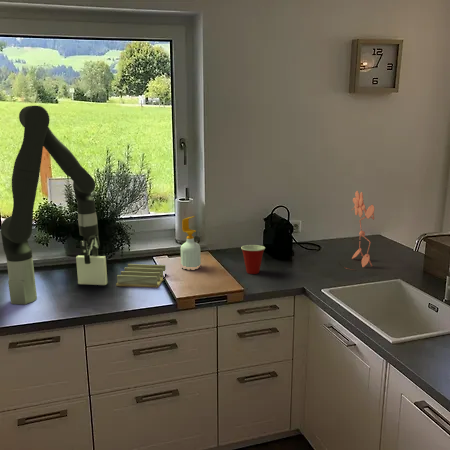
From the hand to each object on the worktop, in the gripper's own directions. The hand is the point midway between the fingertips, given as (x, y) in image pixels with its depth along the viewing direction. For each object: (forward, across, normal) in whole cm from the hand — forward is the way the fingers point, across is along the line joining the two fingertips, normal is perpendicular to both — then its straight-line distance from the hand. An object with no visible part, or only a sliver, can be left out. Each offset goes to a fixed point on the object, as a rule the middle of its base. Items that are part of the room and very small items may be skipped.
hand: (91, 260), depth 206 cm
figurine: (+12, -36, +114) cm, 120 cm away
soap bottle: (+11, -24, +38) cm, 46 cm away
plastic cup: (+12, -20, +67) cm, 71 cm away
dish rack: (+11, -6, +20) cm, 23 cm away
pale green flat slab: (+10, 0, 0) cm, 10 cm away
